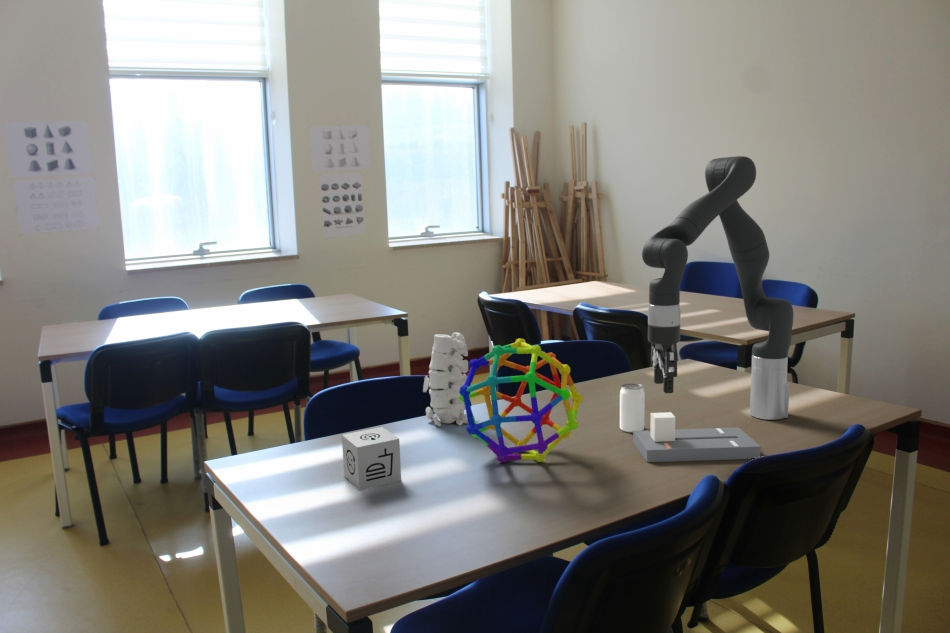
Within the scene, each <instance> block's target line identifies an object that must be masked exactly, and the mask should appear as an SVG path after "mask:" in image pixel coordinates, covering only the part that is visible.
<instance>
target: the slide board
mask: <svg viewBox="0 0 950 633" xmlns="http://www.w3.org/2000/svg"><path fill="white" fill-rule="evenodd" d="M632 443H633V444H634V445H635V447H636V448H637V450H638V451H639V454H641V456H642V458H643V459H644V460H645V462H646V463H660V462H661V463H663V462H664V463H665V462H666V463H667V462H693V461H695V462H697V461H698V462H699V461H700V462H701V461H720V460H721V461H722V460H723V461H726V460H728V461H729V460H731V461H732V460H752V459H751V458H754V457H758V456H760V457H761V453H762V452H761V450H762V449H761V447H762V446H761V445H760V444H758V443H757V442H756V441H755V440H754V439H753V438H751V437H750V436H749V435H748V434H747V433H746V432H744V430H742V429H741V428H740V427H713V428H681V429H680V428H678V429H676V428H675V441H662V442H654V440H653V439H652V438H651V436H650V430H649V429H648V430H647V429H646V430H645V429H644V430H643V431H633V433H632Z"/></svg>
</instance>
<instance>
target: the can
mask: <svg viewBox="0 0 950 633" xmlns="http://www.w3.org/2000/svg"><path fill="white" fill-rule="evenodd" d="M645 394H646V393H645V390H644V386H643V385H642V384H639V383H633V382H632V383H624V384H622V385H621V389H620V391H619V428H620V430H621V431H623V432H625V433H631V434H633V431H644V430H645V409H646V408H645V403H646V401H645V398H646V397H645V396H646V395H645Z"/></svg>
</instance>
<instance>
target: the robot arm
mask: <svg viewBox="0 0 950 633" xmlns="http://www.w3.org/2000/svg"><path fill="white" fill-rule="evenodd" d="M704 178H705V184H706V188H707V190H708V193H706V194H704V195H703V196H701V197H699V198H698V199H695V200H694V201H692V202H691V203H690V204H688V205H687V206H686V207H684V209H682V210H681V211H680V213H679V214H677V216H676V217H675V219H673V221H672V222H671V223H670V224H668V225H667V226H665V227H663V228H662V229H660V230H659V231H657V232H656V233H655V234H653V235H652V236H650V238H648V240H647V241H646V242H645V244H644V245H643V248H642V251H641V259H642V261H643V263H644V264H645V265H646V266H648V267H650V268H654V269H664V272H663V275H662V277H659V278H655V279H652V280H650V282H649V287H648V288H649V289H648V310H647V341H648V342H649V343H650V345H651V348H650V350H651V351H650V363H651V365H652V368H653V383H655V384H656V385H659V384H660V385H661V384H663V386H662V388H663V390H662V391H663V393H664V394H673V393H674V384H675V383H674V382H675V381H674V379H675V378H677V377H678V352H677V351H674V350H673V345H674V344H678V343H680V341H681V308H680V304H681V303H680V300H681V299H680V298H681V297H680V296H681V294H680V293H681V290H680V289H681V283H682V280H683V277H684V273H685V270H686V267H687V263H688V259H689V258H688V257H689V251H688V248H687V247H689V246H691V245H693V244H694V242H696V241H697V239H698V238H700V236H701V235H702V233H703V232H704V231H705V230H706V229H707V227H708V226H709V225H711V223H712V222H713V221H714V220H716V218H717V217H719V219H720V222H721V225H722V228H723V230H724V234H725V237H726V240H727V244H728V248H729V251H730V254H731V258H732V261H733V263H734V267H735V270H736V273H737V278H738V281H739V284H740V285H739V286H740V289H741V295H742V300H743V305H744V310H745V315H746V318H747V321H748V324H749V325H750V326H751V327H752V328H754V329H755V330H759V331H764V332H768V337H767V340H764V341H760V342H756V343H754V344H753V346H752V349H751V372H750V373H751V374H750V376H751V377H750V397H749V398H750V400H749V414H750V416H752V417H754V418H757V419H762V420H770V421H775V420H782V419H784V418H785V419H786V418H787V419H788V418H789V406H790V387H791V386H790V384H789V382H788V363H789V362H788V359H789V356H788V355H789V350H790V347H791V343H792V336H793V328H794V327H793V325H794V307H793V305H792V303H791V302H790V301H789V300H787V299H784V298H776V297H768V296H767V295H766V294H765V292H764V287H763V284H762V283H763V282H762V279H763V276H764V273H765V271H766V270H767V269H766V268H767V266H768V263H769V261H770V260H769V259H770V251H769V250H770V249H769V245H768V242H767V239H766V236H765V233H764V231H763V229H762V228H761V227H760V225H759V224H758V223H757V222H756V220H754V219H753V217H751V216H750V215H749V214H748V213H747V212H746V211H745V209H744V208H743V207H742V206H741V205H740V203H739V201H738V199H740V198H741V197H743V196H744V195H745V194H746V193H747V192H749V191H750V189H751V188H752V187H753V186H754V184H755V182H756V178H757V168H756V165H755V162H754V161H753V160H752V159H751V158H750V157H749V156H742V155H736V156H727V157H726V156H725V157H717V158H714V159H713V158H712V159H711V160H710V161H708V163H707V164H706V167H705V171H704Z"/></svg>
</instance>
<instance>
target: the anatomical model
mask: <svg viewBox="0 0 950 633" xmlns="http://www.w3.org/2000/svg"><path fill="white" fill-rule="evenodd" d="M431 349H432V351H431V358H430V364H429V366H428V368H429V370H428V374H429V375H425V376H424V378H423V380H424V382H423V386H422V387H423V388H422V392H423V393H427V391H428V393H429V396H430V406H427V407H426V408H425V415H426V418H427V419H428V420H430V421H432V422H433V423H434V426H438V427H441V426H442V424H452V423H454V422H456V424H457V425H458V426H462V425H463V424H468V420H467V414H466V413H465V411H466V409H465V405H464V402H461V401H460V399H459V395H460V393H459V391H460V387H462V386H463V385H464V384H465V381H466V379H467V376H468V375H466V373H467V372H469V360H467V359H464V357H469V351H468V350H469V349H468V344H467V343H466V337H464V334H463V333H462V334H461V332H457V331H455V332H453V333H452V334H451V335H449V334H441V333H438V334H436V333H435V334H434V335H433V346H432V348H431ZM463 356H464V357H463ZM463 359H464V360H463ZM428 376H429V377H428ZM438 418H439V419H438Z"/></svg>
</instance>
